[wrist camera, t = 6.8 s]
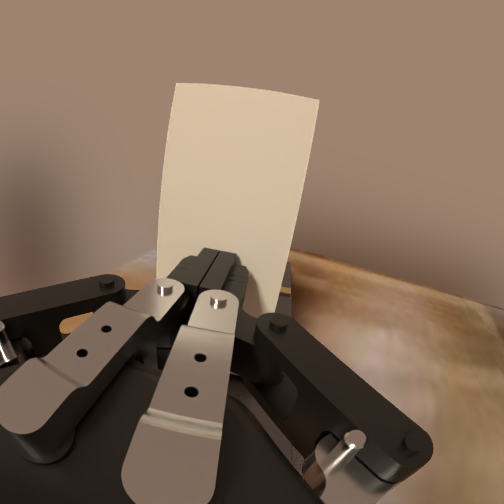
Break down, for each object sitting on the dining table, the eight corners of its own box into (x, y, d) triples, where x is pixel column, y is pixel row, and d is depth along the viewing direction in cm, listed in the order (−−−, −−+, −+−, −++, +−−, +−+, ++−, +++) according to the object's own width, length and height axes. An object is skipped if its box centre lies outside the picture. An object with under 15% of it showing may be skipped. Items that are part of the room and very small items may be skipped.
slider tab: (261, 379, 14) (327, 97, 9) (149, 352, 14) (164, 79, 9) (266, 335, 17) (315, 112, 12) (172, 315, 18) (194, 95, 13)
